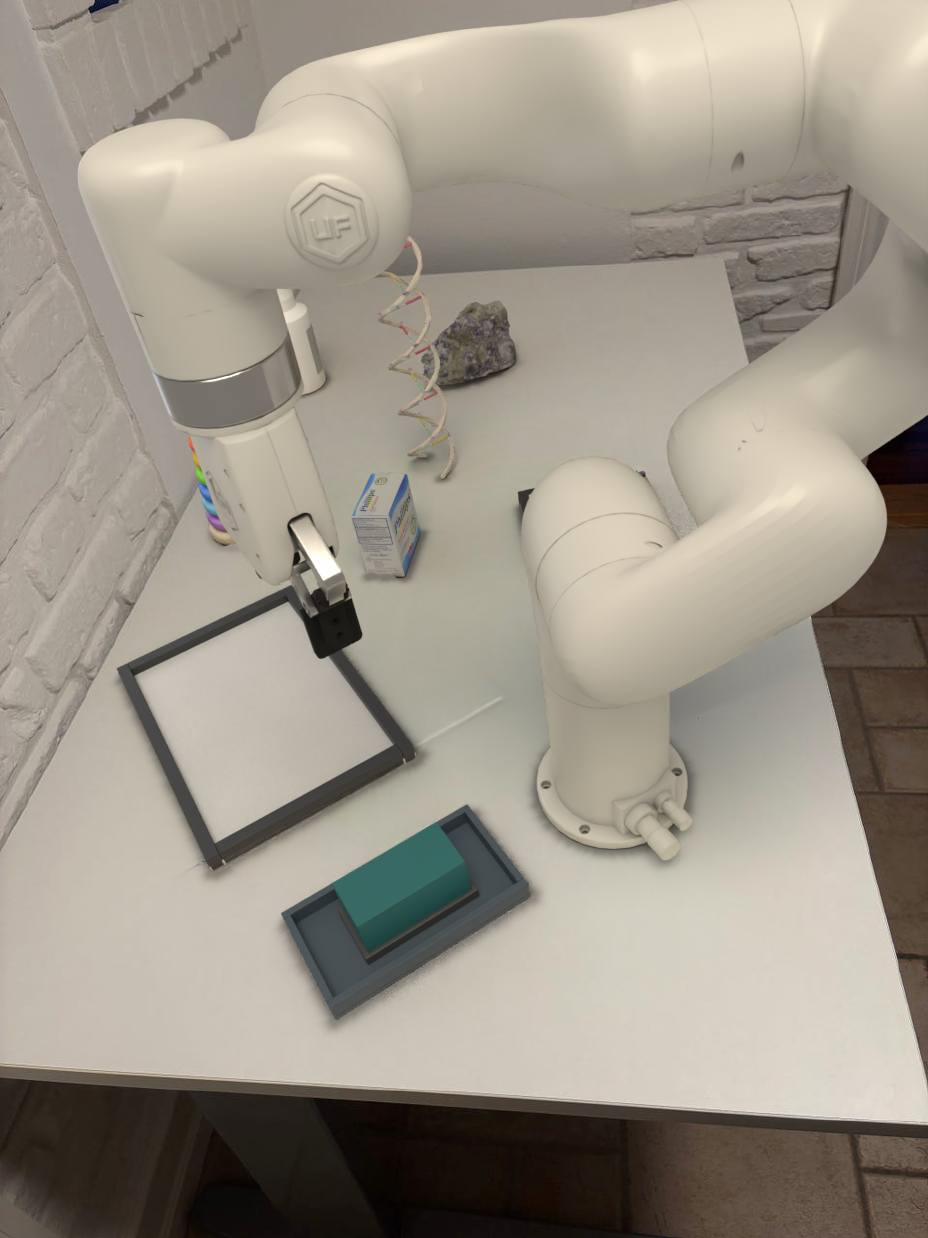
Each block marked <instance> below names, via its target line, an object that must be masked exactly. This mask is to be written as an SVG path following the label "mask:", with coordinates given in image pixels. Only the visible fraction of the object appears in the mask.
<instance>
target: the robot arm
mask: <svg viewBox="0 0 928 1238" xmlns="http://www.w3.org/2000/svg"><path fill="white" fill-rule="evenodd" d="M820 173H833V174H834V175H836V176H837V177H839V178H840V179H841V180H842V181H844V182H845V183H846V184H847V185H849V186H850V187H851V188H853V190H855V191H856V192H857V193H858V194H860V195H861V196H862V197H863V198H865V199H866V200H867V201H868V202H870V203H871V204H872V205H873V206H875V207H876V208H877V209H878V210H879V211H880V212H881V213H883V215H885V216H886V217H887V218H888V222H887V226H886V228H885V232H884V234H883V236H882V239H881V242H880V245H879V247H878V248H877V251H876V253H875V255H874V256H873V259H872V260H871V262H870V264H869V265H868V267H867V269H866V270H865V271H864V273H863V274H862V276H861V278H860V279H859V280H858V281H857V282H856V284H855V285H853V287H852V288H851V289H850V290H849V291H848V292H847V293H846V294H845V295H844V296H843V297H842V298H841V299H839V301H837V302H836V303H835V304H834V305H832V306H831V307H830V308H828V309H827V310H825V311H824V312H823V313H822V314H820V315H819V316H818V317H816V318H815V319H813V321H811V322H809V324H807V325H805V326H804V327H803V328H801V329H799V330H798V331H797V332H795V333H793V334H792V335H791V336H789V337H788V338H786V339H784V340H783V341H781V342H780V343H778V344H777V345H775V346H773V347H772V348H771V349H769V350H768V351H766V352H764V354H761V355H760V356H758V357H757V358H756V359H754V360H752V361H751V362H749V363H748V364H746V365H745V366H744V367H742V368H741V369H739V370H737V371H736V372H735V373H733V374H732V375H729V377H727V378H725V379H724V380H723V381H721V382H720V383H718V384H717V385H715V386H713V387H712V388H711V389H709V390H708V391H706V392H705V393H703V394H702V395H701V396H699V397H698V398H697V399H696V400H694V401H693V402H692V403H690V404H689V405H688V406H687V407H686V408H684V409H683V410H682V411H681V413H680V414H679V415H678V416H677V418H676V419H675V421H674V422H673V424H672V426H671V428H670V429H669V433H668V437H667V441H666V457H667V462H668V466H669V470H670V473H671V475H672V478H673V480H674V483H675V485H676V487H677V489H678V492H679V493H680V495H681V498H682V499H683V501H684V503H685V506H686V507H687V509H688V511H689V513H690V516H691V517H692V519H693V521H694V523H695V525H696V528H694V529H692V531H690V532H689V533H687V534H685V535H684V536H682V537H681V538H680V537H679V534H678V533H677V531H676V528H675V526H674V524H673V522H672V520H671V518H670V516H669V514H668V512H667V510H666V508H665V506H664V504H663V502H662V501H661V499H660V498H659V496H658V494H657V492H656V491H655V490H654V488H653V486H652V485H651V483H650V482H649V483H650V484H649V483H648V482H647V481H646V480H645V479H644V478H643V477H642V476H641V475H640V474H639V473H638V472H639V471H638V472H636V471H637V470H635V469H634V468H633V467H631V466H630V465H627V464H626V463H623V462H622V461H619V460H617V459H613V458H609V457H606V456H596V455H593V456H592V455H591V456H582V457H577V458H574V459H571V460H568V461H565V462H564V463H562V464H560V465H558V466H556V467H554V468H553V469H552V470H550V471H549V472H548V473H546V475H545V476H544V477H542V478H541V479H540V481H539V482H538V483H537V485H536V486H535V487H534V488H535V489H534V490H533V492H532V494H531V495H530V498H529V500H528V502H527V504H526V507H525V510H524V514H523V519H522V518H521V525H520V527H521V528H520V543H521V550H522V551H521V552H522V558H523V564H524V568H525V574H526V578H527V584H528V590H529V595H530V601H531V607H532V612H533V613H532V614H533V619H534V625H535V631H536V633H535V634H536V639H537V646H538V654H539V663H540V675H541V682H542V690H543V698H544V707H545V717H546V724H547V730H548V739H549V746H550V747H549V748H548V749H547V751H546V752H545V754H544V755H543V757H542V759H541V761H540V763H539V766H538V769H537V775H536V791H537V797H538V801H539V804H540V807H541V809H542V811H543V813H544V815H545V816H546V818H547V819H548V821H549V822H550V823H551V825H553V826H554V827H555V828H556V829H557V830H558V831H559V832H560V833H562V834H563V835H565V836H566V837H568V838H569V839H570V840H572V841H573V840H574V841H576V842H578V843H580V844H583V845H585V846H590V847H593V848H598V849H609V850H617V849H629V848H633V847H636V846H640V845H644V844H647V845H648V846H649V848H651V849H652V851H654V852H655V854H656V855H657V856H658V857H659V858H660V859H661V860H662V861H664V862H665V861H666V862H667V861H669V860H671V859H673V858H674V857H675V856H676V855H677V854H678V853H679V852H680V851H681V848H682V843H681V841H680V840H679V839H678V838H677V837H676V836H675V835H674V834H673V833H672V832H671V831H670V830H669V829H670V828H671V827H672V826H673V825H675V827H677V829H678V830H679V831H680V832H684V831H687V830H688V829H689V828H690V827H691V826H692V825H693V824H694V818H693V817H692V815H690V814H689V812H687V810H686V809H685V805H686V802H687V798H688V789H689V786H688V785H689V784H688V783H689V782H688V773H687V768H686V766H685V762H684V761H683V759H682V757H681V755H680V753H679V751H677V749H676V748H675V747H674V746H673V745H672V744H671V742H670V719H671V717H670V716H671V715H670V713H671V712H670V711H671V710H670V709H671V708H670V707H671V706H670V705H671V693H672V692H674V691H676V690H678V689H680V688H681V687H684V686H686V685H688V684H690V683H691V682H693V681H696V680H697V679H698V678H701V677H703V676H705V675H706V674H708V673H710V672H712V671H714V670H715V669H717V668H719V667H721V666H723V665H725V664H726V663H728V662H730V661H732V660H734V659H735V658H737V657H739V656H741V655H743V654H744V653H746V652H748V651H750V650H752V649H754V648H755V647H757V646H759V645H762V643H765V642H766V641H768V640H770V639H771V638H774V637H776V636H777V635H779V634H781V633H783V632H784V631H786V630H788V629H790V628H792V627H793V626H795V625H798V624H799V623H800V622H803V621H804V620H806V619H808V618H809V617H811V616H813V615H815V614H816V613H818V612H819V611H821V610H824V608H826V607H829V605H831V604H832V603H834V602H835V601H837V600H838V599H839V598H841V597H842V596H843V595H844V594H845V593H846V592H848V591H849V590H850V589H852V588H853V587H854V586H855V585H856V584H857V582H858V581H859V580H860V579H861V578H862V577H863V575H865V573H866V572H867V571H868V569H869V568H870V567H871V565H872V564H873V563H874V561H875V559H876V558H877V556H878V554H879V552H880V550H881V547H882V546H883V543H884V540H885V538H886V537H885V536H886V533H887V526H888V517H887V516H888V513H887V507H886V502H885V498H884V496H883V493H882V491H881V489H880V486H879V485H878V483H877V480H876V479H875V478H874V477H873V476H874V475H872V473H871V472H870V470H869V469H868V468H867V467H866V465H865V464H864V462H862V461H861V460H863V459H865V458H866V457H867V456H869V455H870V454H872V453H873V452H874V451H876V450H878V449H879V448H881V447H882V446H883V445H885V444H887V443H888V442H890V441H891V440H892V439H894V438H896V437H897V436H899V435H900V434H902V433H904V431H906V430H907V429H909V428H911V427H912V426H914V425H915V424H916V423H918V422H920V421H921V420H923V419H924V418H925V417H927V416H928V0H674V1H670V2H667V3H660V4H655V5H651V6H646V7H642V8H637V9H636V8H635V9H631V10H626V11H621V12H616V13H611V14H605V15H599V16H597V15H596V16H586V17H568V18H557V19H549V20H548V19H547V20H543V21H537V22H530V23H521V24H511V25H509V24H508V25H496V26H485V27H475V28H466V29H465V28H464V29H456V30H448V31H442V32H436V33H431V34H425V35H419V36H415V37H411V38H406V39H401V40H397V41H391V42H388V43H383V44H378V45H374V46H370V47H366V48H362V49H357V50H353V51H348V52H347V51H346V52H344V53H340V54H335V55H332V56H328V57H323V58H319V59H317V60H313V61H311V62H308V63H306V64H305V65H302V66H299V67H298V68H296V69H294V70H293V71H291V72H290V73H288V74H286V75H285V76H283V77H282V78H281V79H280V80H279V81H277V83H275V85H274V86H273V87H271V89H270V90H269V92H268V94H267V95H266V97H265V98H264V100H263V101H262V104H261V106H260V108H259V111H258V114H257V117H256V120H255V125H254V130H253V131H252V132H251V133H250V134H248V135H247V136H245V137H242V138H238V139H234V140H231V138H230V137H229V135H228V134H227V133H226V131H224V130H223V129H222V128H220V127H219V126H218V125H216V124H213V123H212V122H209V121H207V120H204V119H196V118H186V117H185V118H182V117H181V118H169V119H159V120H154V121H149V122H146V123H141V124H138V125H133V126H130V127H127V128H125V129H122V130H118V131H116V132H114V133H112V134H109V135H107V136H106V137H104V138H102V139H100V140H99V141H97V142H96V143H94V144H93V145H91V146H90V147H89V148H88V149H87V150H86V151H85V152H84V154H83V155H82V157H81V158H80V160H79V163H78V167H77V186H78V191H79V195H80V197H81V200H82V202H83V205H84V209H85V210H86V214H87V216H88V218H89V221H90V223H91V226H92V228H93V231H94V233H95V235H96V238H97V240H98V243H99V245H100V248H101V250H102V253H103V256H104V259H105V261H106V263H107V265H108V268H109V270H110V273H111V275H112V278H113V280H114V282H115V285H116V287H117V290H118V293H119V295H120V297H121V300H122V303H123V304H124V308H125V310H126V312H127V315H128V317H129V319H130V322H131V325H132V327H133V329H134V331H135V334H136V337H137V338H138V342H139V344H140V346H141V349H142V351H143V353H144V356H145V359H146V361H147V363H148V367H149V368H150V371H151V374H152V377H153V379H154V381H155V384H156V386H157V389H158V391H159V394H160V396H161V398H162V401H163V404H164V406H165V409H166V411H167V415H168V417H169V419H170V421H171V423H172V425H173V426H174V428H176V429H177V430H178V431H179V432H181V433H183V434H187V435H189V436H190V438H191V441H192V444H193V447H194V450H195V453H196V456H197V458H198V461H199V464H200V467H201V470H202V473H203V476H204V478H205V481H206V484H207V487H208V490H209V493H210V496H211V499H212V502H213V505H214V508H215V510H216V513H217V515H218V517H219V519H220V521H221V523H222V525H223V526H224V528H225V529H226V531H227V532H228V534H229V535H230V537H231V538H232V539H233V541H234V542H235V545H236V547H237V548H238V549H239V550H240V552H241V553H242V555H243V556H244V558H245V559H246V560H247V561H248V563H249V564H250V565H251V567H252V568H253V570H254V571H255V574H256V575H257V577H258V579H261V580H263V581H264V582H265V583H267V584H268V585H270V586H275V587H278V586H281V584H283V583H284V582H287V581H290V583H291V585H292V586H293V587H294V589H295V591H296V593H297V595H298V597H299V599H300V601H301V603H302V605H303V607H304V608H303V609H301V610H299V611H300V614H301V617H302V620H303V623H304V626H305V628H306V631H307V634H308V637H309V640H310V642H311V645H312V648H313V651H314V653H315V654H316V656H317V657H318V658H319V659H324V658H326V657H328V656H330V655H332V654H334V653H335V652H337V651H339V650H341V651H342V650H344V649H346V648H347V647H350V646H351V645H353V644H355V643H357V642H359V641H361V640H362V638H363V635H364V633H363V630H362V628H361V627H362V626H361V624H360V621H359V617H358V614H357V611H356V607H355V604H354V599H353V596H352V593H351V589H350V588H349V584H348V582H347V579H346V577H345V574H344V572H343V570H342V569H341V567H340V565H339V564H338V562H337V560H336V558H337V557H338V554H339V552H340V549H341V548H340V547H341V546H340V539H339V536H338V531H337V527H336V523H335V520H334V515H333V513H332V510H331V506H330V502H329V500H328V497H327V494H326V493H327V492H326V490H325V488H324V484H323V481H322V478H321V476H320V472H319V469H318V466H317V464H316V461H315V459H314V455H313V452H312V450H311V447H310V444H309V438H308V437H307V436H306V434H305V433H306V432H305V431H304V428H303V425H302V422H301V420H300V417H299V414H298V412H297V409H296V407H295V406H296V405H297V404H298V402H299V401H300V399H301V397H302V396H303V395H302V393H303V390H304V383H303V380H302V377H301V372H300V369H299V365H298V362H297V358H296V355H295V351H294V348H293V344H292V341H291V337H290V334H289V330H288V328H287V324H286V321H285V317H284V314H283V310H282V307H281V303H280V300H279V296H278V293H277V289H291V290H328V289H341V288H347V287H352V286H357V285H359V284H362V283H365V282H367V281H370V280H372V279H374V278H376V277H377V276H379V275H380V273H382V272H383V271H386V270H387V269H389V267H391V266H392V264H394V262H396V260H397V259H398V258H399V256H400V255H401V253H402V252H403V250H404V249H405V248H404V246H405V244H407V243H408V241H407V239H408V237H409V236H410V233H411V229H412V224H413V215H414V213H413V211H414V209H413V208H414V206H413V205H414V203H413V202H414V201H413V194H415V193H418V192H424V191H429V190H434V189H438V188H445V187H450V186H458V185H465V184H478V183H479V184H480V183H505V184H515V185H523V186H528V187H532V188H537V189H541V190H543V191H548V192H550V193H552V194H557V195H559V196H561V197H563V198H564V197H565V198H567V199H568V200H573V201H575V202H577V203H581V204H584V205H587V206H591V207H594V208H599V209H603V210H609V211H610V210H611V211H614V212H615V211H616V212H623V213H637V212H642V211H643V212H644V211H649V210H655V209H658V208H662V207H667V206H671V205H674V204H680V203H683V202H689V201H693V200H697V199H701V198H706V197H711V196H714V195H719V194H724V193H729V192H732V191H733V192H734V191H737V190H743V189H746V188H751V187H756V186H761V185H766V184H769V183H774V182H775V183H776V182H777V183H778V182H782V181H786V180H791V179H795V178H796V179H797V178H800V177H806V176H810V175H814V174H820ZM403 248H404V249H403ZM650 485H651V486H650ZM299 552H300V553H299ZM301 555H302V557H303V558H304V560H302V559H301ZM301 560H302V561H301ZM309 571H312V573H313V575H314V578H315V580H316V586H318V588H317V589H314V590H313V591H312V593H311V592H310V591H309V589H308V586H307V584H306V583H305V581H304V579H303V577H302V575H303V574H305V573H306V572H309Z"/></svg>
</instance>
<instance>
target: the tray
mask: <svg viewBox="0 0 928 1238" xmlns="http://www.w3.org/2000/svg"><path fill="white" fill-rule="evenodd" d="M436 822H437V823H438V825H439V826H440V827H441V829H442V830H443V832H444V833H445V834H446V836H447V837H448V839H449V840H450V841H451V843H452V844H453V846H454V847H455V848H456V850H457V851H458V852H459V854H460V855H461V857H462V858H463V859H464V861H465V864H466V868H467V872H468V876H469V877H470V879H471V880H472V881H473V883H474V884H475V886H476V887H477V888H478V891H479V895H480V896H479V897H477V898H475V899H474V900H472V901H471V902H469V903H467V904H466V905H464V906H463V907H461V908H459V909H458V910H456V911H455V912H453V913H451V914H450V915H448V916H447V917H445V918H443V919H442V920H440V921H439V922H437V923H435V924H434V925H432V926H431V927H429V928H427V929H426V930H424V931H423V932H421V933H419V934H418V935H416V936H414V937H413V938H411V939H410V940H408V941H406V942H405V943H403V944H402V945H400V946H398V947H397V948H395V949H394V950H392V951H390V952H389V953H387V954H386V955H384V956H382V957H381V958H379V959H378V960H376V961H374V962H373V963H371V964H370V965H368V964H367V963H366V961H365V959H364V957H363V956H362V954H361V952H360V950H359V949H358V947H357V945H356V943H355V941H354V940H353V938H352V936H351V934H350V933H349V931H348V929H347V927H346V926H345V924H344V922H343V920H342V919H341V917H340V915H339V912H338V910H339V909H341V908H342V905H341V903H340V901H339V899H338V896H337V894H336V892H335V889H334V887H333V885H332V883H333V882H331V883H330V884H328V885H326V886H325V887H323V888H321V889H319V890H318V891H316V892H314V893H313V894H311V895H309V896H308V897H306V898H304V899H302V900H301V901H299V902H297V903H295V904H294V905H292V906H290V907H289V908H287V909H286V910H283V911H282V912H281V913H280V915H281V917H282V919H283V921H284V923H285V924H286V926H287V929H288V931H289V933H290V935H291V936H292V938H293V940H294V942H295V944H296V946H297V949H298V950H299V952H300V954H301V957H302V958H303V960H304V962H305V964H306V965H307V968H308V969H309V972H310V973H311V975H312V978H313V979H314V982H315V983H316V985H317V987H318V989H319V991H320V994H321V995H322V997H323V999H324V1001H325V1003H326V1005H327V1007H328V1009H329V1010H330V1012H331V1014H332V1016H333V1018H334V1020H335V1021H337V1020H338V1019H340V1018H342V1017H343V1016H345V1015H346V1014H348V1013H350V1012H351V1011H352V1010H354V1009H356V1008H357V1007H359V1006H361V1005H362V1004H364V1003H365V1002H367V1001H369V1000H370V999H371V998H373V997H375V996H376V995H378V994H379V993H381V992H383V991H384V990H386V989H387V988H389V987H390V986H392V985H394V984H395V983H397V982H398V981H401V980H402V979H403V978H405V977H406V976H408V975H410V974H411V973H412V972H414V971H415V970H417V969H419V968H421V967H422V966H423V965H425V964H426V963H429V962H430V961H431V960H433V959H435V958H436V957H437V956H440V955H441V954H442V953H444V952H446V951H447V950H449V949H450V948H452V947H454V946H455V945H457V944H458V943H460V942H462V941H463V940H465V939H466V938H468V937H470V936H471V935H473V934H474V933H475V932H477V931H478V930H481V929H482V928H483V927H485V926H487V925H488V924H490V923H492V922H493V921H495V920H497V919H498V918H499V917H501V916H502V915H504V914H505V913H507V912H509V911H510V910H512V909H513V908H515V907H517V906H518V905H520V904H521V903H523V902H525V901H526V900H527V899H529V898H531V892H530V887H529V882H528V881H527V879H525V878H524V876H523V875H522V874H521V872H520V871H519V869H518V868H517V867H516V866H515V864H514V863H513V862H512V860H511V859H510V858H509V857H508V855H507V854H506V852H505V851H504V850H503V849H502V847H501V846H500V845H499V843H498V842H497V841H496V839H494V837H493V836H492V834H491V833H490V832H489V830H488V828H486V826H485V825H484V824H483V823H482V821H481V820H480V819H479V817H478V816H477V815H476V814H475V812H474V811H473V810H472V808H471V807H470V806H469V804H464V805H462V806H461V807H459V808H458V809H456V810H454V811H453V812H451V813H449V814H448V815H445V816H444V817H443V818H441V819H439V820H437V821H436Z"/></svg>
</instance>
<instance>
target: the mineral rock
mask: <svg viewBox="0 0 928 1238" xmlns="http://www.w3.org/2000/svg"><path fill="white" fill-rule="evenodd" d="M508 317H509V316H508V311H507V308H506V307H505V305H504V304H503V303H502V301H500V300H493V301H491V302H488V303H486V304H481V303H479V302H477V301H473V302H470V303H468V304H466V306H465V307H464V308H463V309H462V310H461V311H459V313H458V315H457V317H456V318H455V319H454V321H453V322H452V323H451V324H450V325H449V326H448V327H446V328H445V329H443V331H442V332H440V333H439V335H437V338H436V339H435V340H434V341H433V342H436V344H435V348H436V351H437V354H438V357H439V359H440V369H439V373H438V377H437V380H436V382H435V384H436V385H437V386H443V385H445V386H449V385H458V384H460V383H462V384H464V383H466V382H468V381H470V380H471V381H473V380H475V379H479V378H482V377H485V376H487V375H489V374H493V373H497V372H500V371H501V370H505V369H507V368H510V367H512V366H513V365H514V364H515V363H516V362H517V349H516V345H515V342H514V340H513V338H512V337H511V334H510V327H511V325H510V322H509V318H508ZM420 362H421V364H422V365H423V374H422V375H424V376H425V377H427V378H428V379H431V378H432V376H433V374H434V369H435V360H434V354H433V352H432V351H431V349H430V348H429V349H427V350H426V351H425V352H424V353H423V355H422V356H421V357H420Z"/></svg>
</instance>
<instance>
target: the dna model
mask: <svg viewBox="0 0 928 1238" xmlns="http://www.w3.org/2000/svg"><path fill="white" fill-rule="evenodd" d="M417 243H418V242H417V238H416V236H415V237H413V238H412V236H410V235H409V237H408V239H407V242H406V244H405V246H404V248H403V250H404V249H405V248H408V247H412V250H413V252H414V254H415V255H414V256H415V257H416V259H417V268H416V271H415V273H414V274H413V277H412V279H411V281H408V280H406V279H405V278H402V277H400V276H399V275H396V274H395V273H393V272H389V271H386V270H384V271H383V272H382V273H380V274H379V275H380V276H383V277H386V278H390V279H391V280H392V281H393V282H394V283H395V285H396V286H397V287H398V288H399V290H400V291H401V295H400V296H399V297H398V298H397V299H396V300H395V301H394V303H392V304H391V305H390V306H388V307H387V308H385V309H384V310H383V311H382V312H378V313H376V315H378V316H377V321H378V323H380V324H383V325H387V326H390V327H391V326H392V327H395V328H398V329H399V330H400V329H401V330H402V331H403V332H404V334H405V335H407V337H408V339H409V341H410V342H411V343H412V345H411V346H410V347H409V348H408V349H407V350H406V351H405V352H404V353H403V354H401V355H400V356H399V357H397V358H396V359H394V360H393V361H391V362H390V363H388V365H387V367H388V370H389V371H393V372H398V373H402V374H405V375H406V374H407V375H409V376H411V377H412V379H413V380H414V382H416V383H417V386H418V387H419V389H420V390H421V392H420V393H419V394H418V395H417V396H416V397H414V399H413V400H411V401H410V402H408V403H407V404H406V405H405V406H402V407H401V408H399V409H397V415H398V416H403V417H410V418H416V419H418V420H419V422H420V423H421V424H422V426H423V427H424V428H425V429H426V432H427V434H428V435H429V436H428V438H427V439H426V440H424V441H423V442H422V443H419V444H418V446H416V447H415V448H412V449H410V450H409V451H407V452H406V453H405V455H406V456H407V457H417V458H423V459H427V457H428V454H426V453H420V451H423V450H426V449H427V448H428V447H431V446H434V445H436V444H438V443H440V442H442V441H445V440H447V442H448V444H449V449H450V455H448V462H447V465H446V467H445V468H444V469H443V471H442V473H441V474H440V476H439V477H440V479H441V480H444V479H445V478H446V476H447V474H448V473H449V472H450V470H451V469H452V466H453V462H454V458H455V455H456V450H455V449H456V448H455V442H454V439H453V438H452V435H451V433H450V432H449V431H448V430H447V429H446V427H445V425H446V420H447V417H448V402H447V399H446V396H445V394H444V392H443V390H442V388H441V387H440V386H439V385H436V384H435V382H436V380H437V377H438V373H439V369H440V359H439V357H438V354H437V351H436V348H435V344H436V342H434V341H431V340H430V338H428V337H427V334H428V333H429V330H430V327H431V326H430V325H431V321H432V315H433V313H432V309H431V305H430V301H429V299H428V297H427V296H426V294H425V293H424V292H423V291H422V290H421V289H420V288H418V287H417V284H418V282H419V280H420V277H421V274H422V270H423V257H422V251H421V249H420V247H419V245H418V244H417ZM399 283H400V284H399ZM401 285H404V286H406V289H404V287H402V286H401ZM412 292H414V293H415V294H416V295H417V296H416V297H414V298H412V299H410V300H407V301H406V302H405V303H402V302H404V301H405V299H406V298H407V297H408V296H409V295H410V294H411V293H412ZM418 300H421V301H422V305H423V309H424V312H425V316H426V317H425V320H424V326H423V329H422V330H421V331H419V330H418V329H415V328H414V327H411V326H410V325H407V324H404V322H403V321H402V320H401V321H400V322H397V321H394V320H391V319H388V318H385V317H386V316H387V315H389V314H391V313H392V312H395V311H397V310H399V309H401V308H403V307H404V306H405V305H406V306H408V305H410V304H412V303H414V302H416V301H418ZM401 303H402V304H401ZM409 334H413V335H414V336H416V337H417V339H416V341H415V340H414V339H413V338H412V337H411V336H410V335H409ZM422 342H423V343H424V344H426V345H427V346H426V347H424V348H422V349H421V348H420V349H419V350H416V349H417V348H418V347H419V346H420V345H421V343H422ZM428 349H431V351H432V352H433V354H434V360H435V369H434V374H433V376H432V378H431V379H428V378H427V377H425V376H424V375H423V374H421V373H419V372H416V371H414V370H413V369H412V367H409V368H402V367H398V365H400V364H402V363H403V362H405V361H407V360H409V359H411V358H412V357H414V356H417V355H419V354H421V353H423V352H426V351H427V350H428ZM415 350H416V351H415ZM414 351H415V352H414ZM413 352H414V353H413ZM418 379H419V380H421V381H423V382H425V383H426V384H427V385H426V387H425V388H424V387H423V386H422V384H421V383H420V381H419V380H418ZM431 389H433V390H434V391H435V392H433V393H432V394H429V392H430V391H431ZM427 394H429V395H427ZM426 395H427V396H426ZM436 395H438V396H439V397H440V399H441V401H442V416H441V419H440V420H439V422H437V420H435V419H433V418H431V417H429V416H427V415H424V414H421V412H417V413H416V412H412V411H408V410H411V409H412V408H414V407H416V406H418V405H420V404H421V403H422V402H423V401H427V400H429V399H431V398H433V397H434V396H436ZM425 396H426V397H425ZM425 422H427V423H429V424H430V426H431V428H435V430H434V431H433V432H431V430H430V429H429V428H428V427H427V425H426V423H425ZM439 433H443V434H444V436H442V437H440V438H438V439H436V437H437V436H439ZM435 439H436V440H435Z"/></svg>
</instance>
